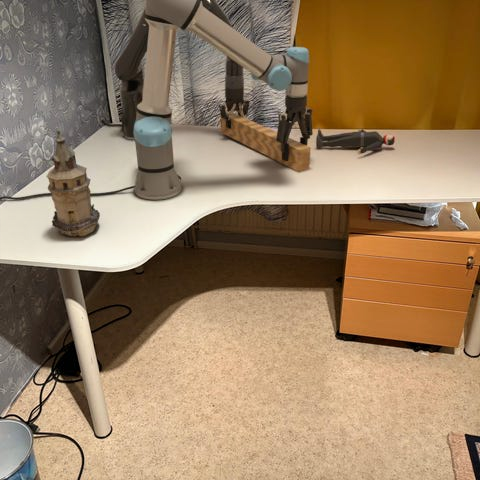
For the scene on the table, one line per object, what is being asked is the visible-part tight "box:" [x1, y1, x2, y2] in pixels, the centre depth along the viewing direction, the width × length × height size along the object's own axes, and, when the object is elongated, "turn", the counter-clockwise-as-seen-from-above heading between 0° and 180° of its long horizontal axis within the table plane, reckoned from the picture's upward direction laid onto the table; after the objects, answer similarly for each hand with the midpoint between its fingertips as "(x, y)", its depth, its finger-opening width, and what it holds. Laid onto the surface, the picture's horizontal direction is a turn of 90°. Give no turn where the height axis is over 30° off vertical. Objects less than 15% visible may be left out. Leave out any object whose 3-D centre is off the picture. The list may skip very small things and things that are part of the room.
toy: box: [315, 128, 396, 155], centre depth 211 cm, size 26×6×30 cm
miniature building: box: [46, 129, 101, 237], centre depth 148 cm, size 13×14×30 cm
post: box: [219, 112, 311, 172], centre depth 208 cm, size 51×5×8 cm, turn 35°
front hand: (293, 157), depth 196 cm, fingers open, 8 cm apart
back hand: (234, 126), depth 221 cm, fingers open, 5 cm apart
